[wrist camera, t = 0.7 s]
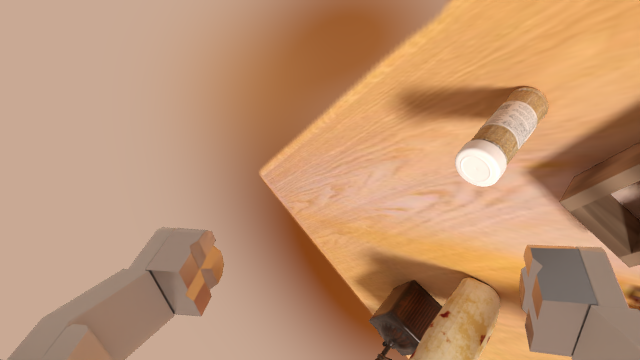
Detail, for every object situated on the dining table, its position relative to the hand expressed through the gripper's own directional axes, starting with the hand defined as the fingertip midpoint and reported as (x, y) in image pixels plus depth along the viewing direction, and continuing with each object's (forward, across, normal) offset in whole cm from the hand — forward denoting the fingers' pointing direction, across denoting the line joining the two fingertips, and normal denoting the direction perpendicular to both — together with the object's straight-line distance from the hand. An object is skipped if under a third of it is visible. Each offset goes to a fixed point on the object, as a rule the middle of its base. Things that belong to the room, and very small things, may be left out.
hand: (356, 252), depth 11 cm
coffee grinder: (+49, -1, +70) cm, 85 cm away
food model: (+43, -11, +54) cm, 70 cm away
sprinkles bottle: (+40, -12, +16) cm, 45 cm away
